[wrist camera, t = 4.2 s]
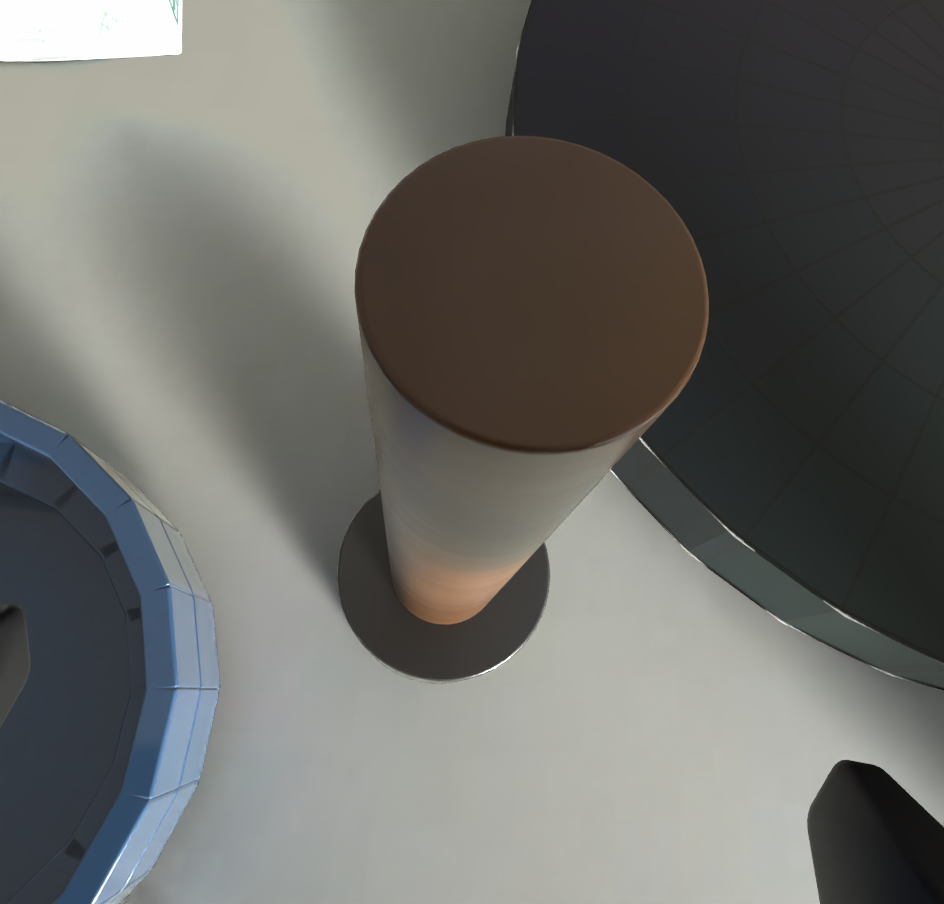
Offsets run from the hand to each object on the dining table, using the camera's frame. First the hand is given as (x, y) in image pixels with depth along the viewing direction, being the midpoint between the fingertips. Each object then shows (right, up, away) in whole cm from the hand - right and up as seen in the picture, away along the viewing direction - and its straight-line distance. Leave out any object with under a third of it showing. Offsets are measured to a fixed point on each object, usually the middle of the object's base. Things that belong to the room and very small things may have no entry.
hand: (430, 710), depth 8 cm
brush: (0, -1, +11) cm, 11 cm away
